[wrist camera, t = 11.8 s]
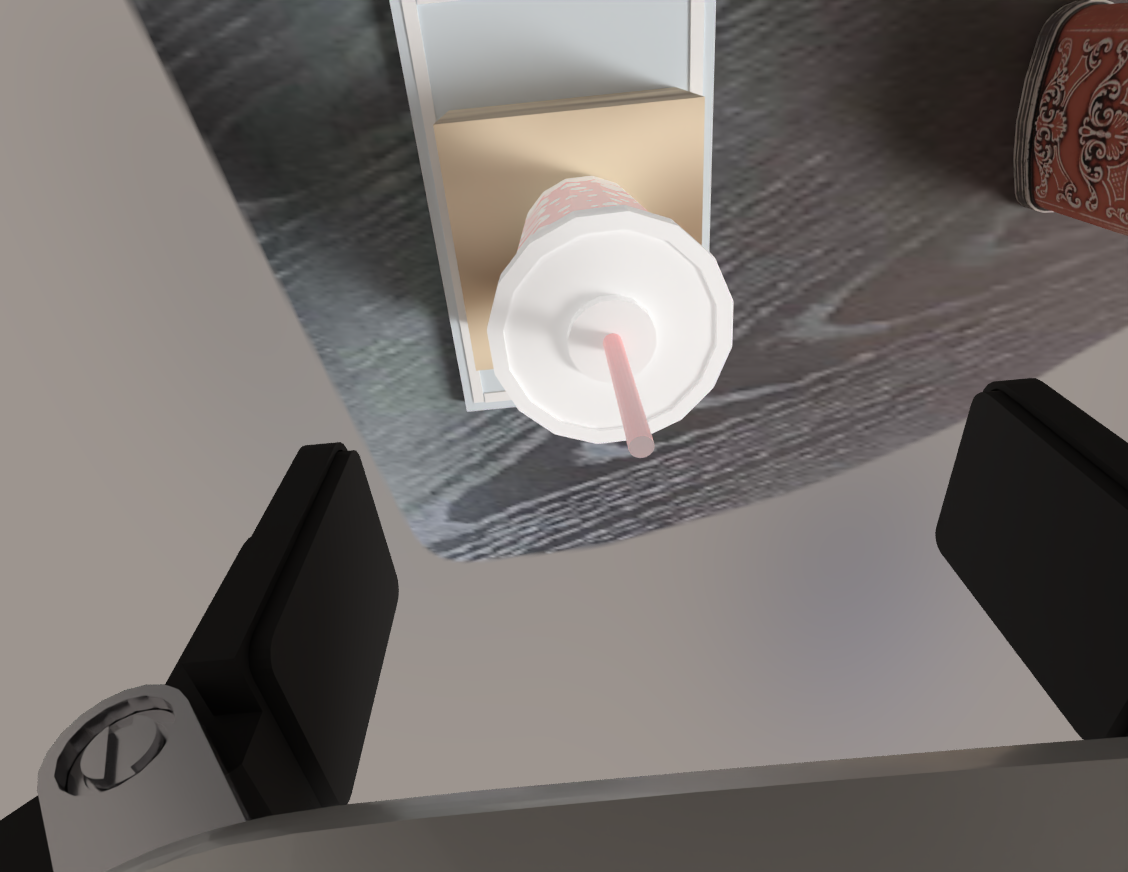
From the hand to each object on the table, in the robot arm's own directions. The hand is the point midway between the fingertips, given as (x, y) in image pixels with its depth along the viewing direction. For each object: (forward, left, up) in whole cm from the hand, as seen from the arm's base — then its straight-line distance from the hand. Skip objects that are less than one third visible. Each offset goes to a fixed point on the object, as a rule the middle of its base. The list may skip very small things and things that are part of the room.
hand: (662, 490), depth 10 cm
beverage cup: (0, 0, -16) cm, 16 cm away
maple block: (0, 0, -21) cm, 21 cm away
